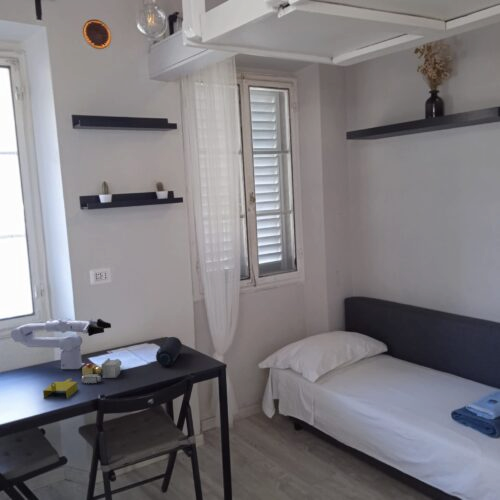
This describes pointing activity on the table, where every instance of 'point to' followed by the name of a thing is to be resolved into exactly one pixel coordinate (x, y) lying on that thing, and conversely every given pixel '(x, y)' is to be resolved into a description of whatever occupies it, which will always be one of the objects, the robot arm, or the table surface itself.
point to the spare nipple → (91, 378)
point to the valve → (91, 369)
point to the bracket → (61, 388)
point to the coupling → (111, 368)
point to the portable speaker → (168, 351)
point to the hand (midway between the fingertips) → (107, 327)
